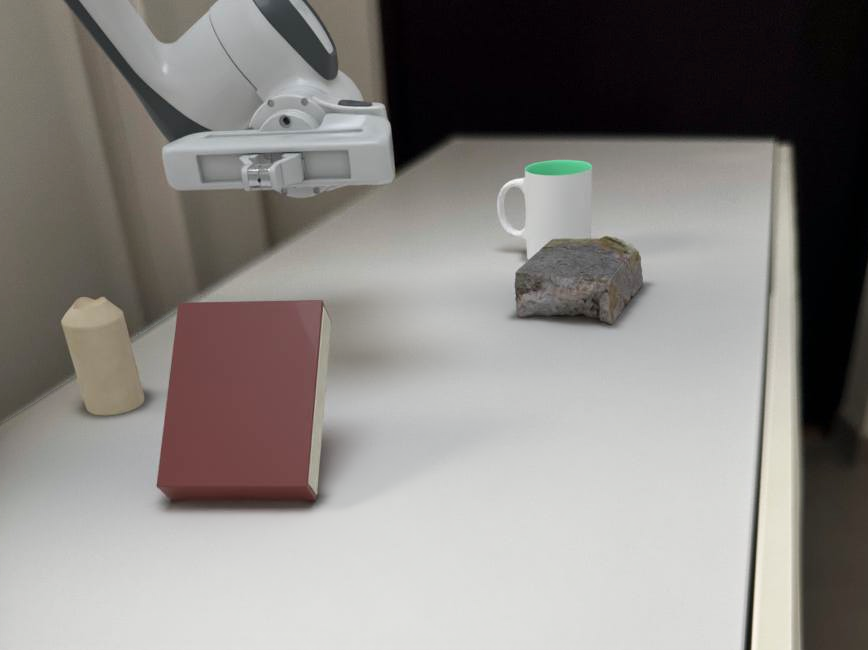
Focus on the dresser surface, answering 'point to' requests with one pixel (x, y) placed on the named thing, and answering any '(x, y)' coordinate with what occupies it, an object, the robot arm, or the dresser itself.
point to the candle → (102, 356)
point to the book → (245, 401)
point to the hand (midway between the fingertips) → (259, 180)
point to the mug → (552, 203)
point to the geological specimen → (579, 278)
